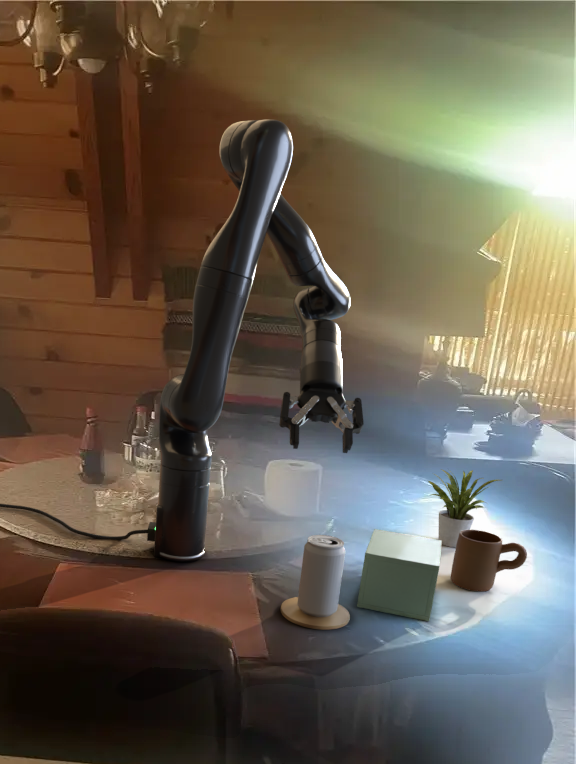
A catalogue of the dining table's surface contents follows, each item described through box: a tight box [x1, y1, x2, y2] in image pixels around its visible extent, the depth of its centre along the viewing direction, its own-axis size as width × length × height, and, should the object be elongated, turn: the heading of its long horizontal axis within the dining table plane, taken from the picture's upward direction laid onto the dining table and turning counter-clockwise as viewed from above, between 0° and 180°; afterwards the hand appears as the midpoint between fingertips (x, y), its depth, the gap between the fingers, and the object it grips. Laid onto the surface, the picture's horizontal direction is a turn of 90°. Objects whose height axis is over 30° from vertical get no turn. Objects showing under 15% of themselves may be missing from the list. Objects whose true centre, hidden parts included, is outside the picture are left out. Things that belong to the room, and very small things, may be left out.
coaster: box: [280, 596, 351, 631], centre depth 121 cm, size 11×11×1 cm
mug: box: [450, 529, 528, 592], centre depth 137 cm, size 12×8×9 cm, turn 71°
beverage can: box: [297, 534, 347, 617], centre depth 119 cm, size 6×6×12 cm
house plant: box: [427, 468, 502, 548], centre depth 158 cm, size 14×14×16 cm
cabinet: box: [356, 528, 443, 622], centre depth 128 cm, size 14×12×10 cm
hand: (321, 448), depth 129 cm, fingers open, 8 cm apart
